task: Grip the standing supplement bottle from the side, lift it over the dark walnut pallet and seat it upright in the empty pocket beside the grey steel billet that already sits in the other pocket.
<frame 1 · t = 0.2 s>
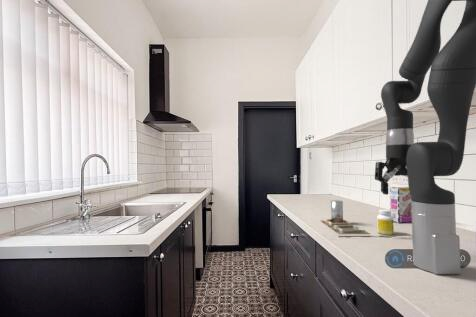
hand: (399, 194, 81), 18 cm above the countertop, tool pointing down, fingers open, 8 cm apart
supplement bottle: (385, 236, 97), on the countertop
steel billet: (337, 223, 114), point 1 cm above the countertop, touching pallet
candy bar box: (403, 222, 120), on the countertop
pallet: (342, 228, 108), on the countertop
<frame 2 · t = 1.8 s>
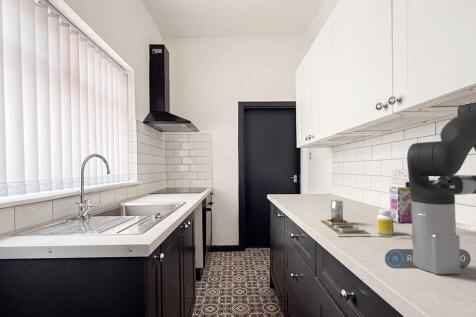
hand: (413, 185, 97), 19 cm above the countertop, tool horizontal, fingers open, 8 cm apart
nothing on the countertop moved.
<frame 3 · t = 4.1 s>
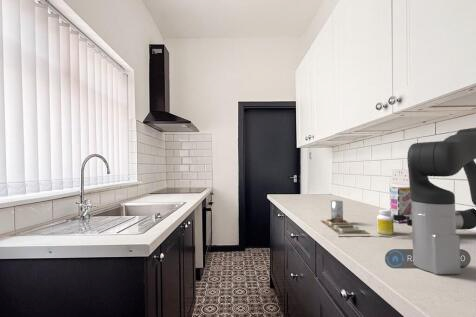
hand: (400, 220, 97), 6 cm above the countertop, tool horizontal, fingers open, 8 cm apart
nothing on the countertop moved.
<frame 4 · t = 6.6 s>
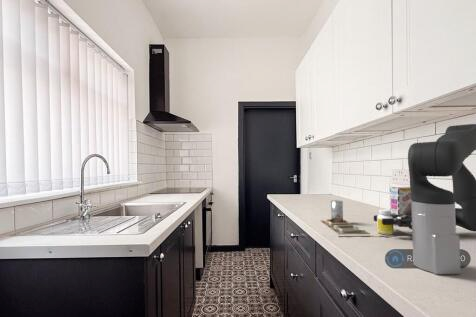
hand: (378, 220, 97), 6 cm above the countertop, tool horizontal, fingers closed on supplement bottle, 5 cm apart
supplement bottle: (385, 236, 97), on the countertop, touching gripper
everything else where it was.
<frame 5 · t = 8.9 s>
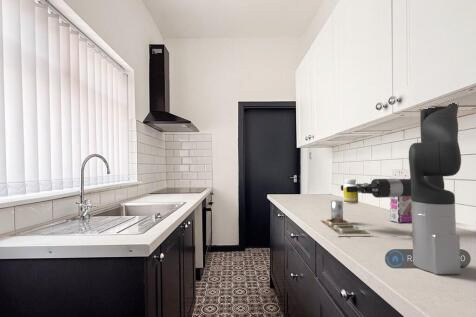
hand: (344, 188, 102), 18 cm above the countertop, tool horizontal, fingers closed on supplement bottle, 5 cm apart
supplement bottle: (351, 204, 102), point 11 cm above the countertop, touching gripper
everything else where it was.
when the fingers open (8 cm above the countertop, at t = 11.7 s): supplement bottle drops 1 cm, resting on pallet.
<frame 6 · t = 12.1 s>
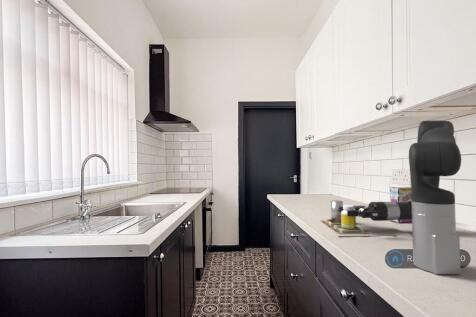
hand: (343, 211, 102), 8 cm above the countertop, tool horizontal, fingers open, 8 cm apart
supplement bottle: (348, 230, 102), point 1 cm above the countertop, touching pallet
everything else where it was.
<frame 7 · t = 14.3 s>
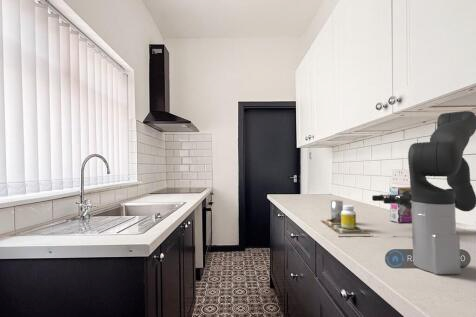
hand: (378, 199, 103), 13 cm above the countertop, tool horizontal, fingers open, 8 cm apart
nothing on the countertop moved.
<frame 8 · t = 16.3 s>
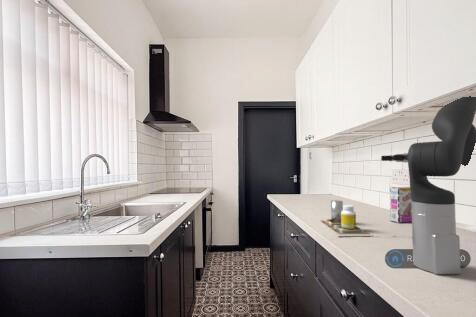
hand: (387, 158, 105), 30 cm above the countertop, tool horizontal, fingers open, 8 cm apart
nothing on the countertop moved.
at the end: supplement bottle 0.1 cm from the target spot on the pallet, point 0.8 cm above the pallet's base; supplement bottle tilted 0°; the gripper is holding nothing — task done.
